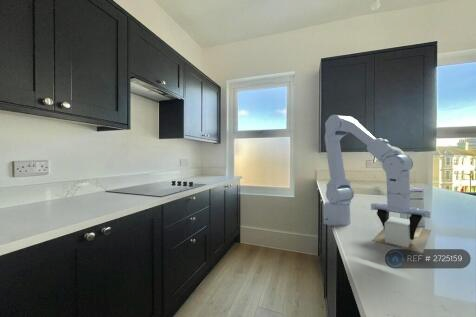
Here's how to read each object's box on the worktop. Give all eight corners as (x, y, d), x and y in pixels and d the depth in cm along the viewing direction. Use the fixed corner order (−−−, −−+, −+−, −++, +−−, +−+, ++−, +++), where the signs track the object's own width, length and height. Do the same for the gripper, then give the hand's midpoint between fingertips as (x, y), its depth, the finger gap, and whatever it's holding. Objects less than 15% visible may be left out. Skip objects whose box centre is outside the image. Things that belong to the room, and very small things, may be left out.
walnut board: (371, 243, 64) (371, 240, 64) (389, 225, 80) (389, 222, 80) (422, 256, 55) (422, 252, 55) (431, 232, 72) (431, 229, 72)
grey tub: (385, 242, 63) (384, 222, 63) (391, 234, 69) (391, 216, 69) (408, 247, 59) (407, 227, 59) (413, 238, 65) (412, 220, 65)
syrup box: (425, 227, 77) (424, 189, 77) (408, 226, 79) (407, 189, 78) (416, 222, 83) (415, 186, 83) (399, 221, 84) (398, 186, 84)
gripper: (367, 192, 66) (368, 233, 67) (428, 197, 56) (429, 247, 56) (373, 189, 71) (374, 228, 71) (430, 194, 61) (431, 239, 61)
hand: (399, 235), depth 64 cm, fingers closed on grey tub, 6 cm apart
